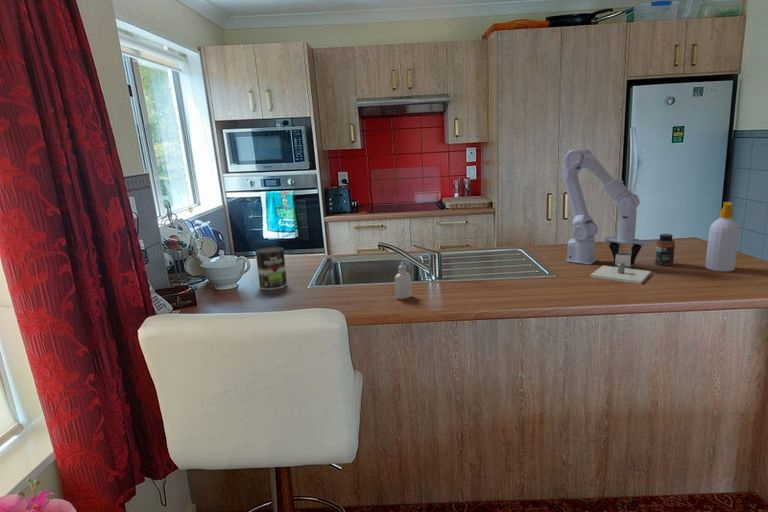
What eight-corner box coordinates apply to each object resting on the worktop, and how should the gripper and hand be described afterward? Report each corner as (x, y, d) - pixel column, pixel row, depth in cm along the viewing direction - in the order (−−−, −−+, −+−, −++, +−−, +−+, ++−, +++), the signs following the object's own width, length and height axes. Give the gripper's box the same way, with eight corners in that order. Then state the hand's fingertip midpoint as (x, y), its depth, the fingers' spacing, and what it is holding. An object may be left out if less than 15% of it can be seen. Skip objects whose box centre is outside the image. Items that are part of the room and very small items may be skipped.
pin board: (590, 277, 164) (591, 264, 163) (602, 268, 175) (603, 256, 174) (640, 284, 154) (641, 271, 153) (650, 274, 164) (651, 261, 163)
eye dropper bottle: (394, 296, 156) (392, 261, 154) (410, 294, 157) (409, 260, 154) (396, 300, 152) (394, 264, 149) (413, 298, 153) (411, 263, 150)
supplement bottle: (668, 261, 178) (671, 232, 175) (676, 266, 172) (679, 236, 169) (651, 262, 178) (654, 233, 176) (659, 266, 173) (661, 236, 170)
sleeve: (614, 267, 174) (615, 254, 173) (618, 264, 178) (619, 251, 177) (629, 269, 171) (630, 256, 170) (633, 266, 175) (634, 253, 173)
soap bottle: (708, 271, 163) (716, 204, 157) (702, 264, 171) (709, 200, 166) (738, 273, 160) (747, 204, 154) (730, 266, 168) (738, 200, 163)
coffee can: (290, 286, 173) (286, 250, 170) (263, 292, 169) (258, 254, 165) (283, 280, 182) (279, 245, 179) (256, 285, 178) (252, 249, 174)
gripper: (602, 227, 173) (600, 263, 176) (646, 231, 163) (643, 268, 166) (608, 224, 178) (606, 259, 181) (650, 227, 168) (647, 264, 172)
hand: (624, 263), depth 174 cm, fingers closed on sleeve, 5 cm apart
